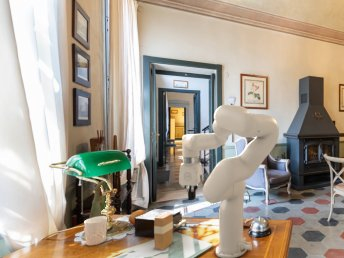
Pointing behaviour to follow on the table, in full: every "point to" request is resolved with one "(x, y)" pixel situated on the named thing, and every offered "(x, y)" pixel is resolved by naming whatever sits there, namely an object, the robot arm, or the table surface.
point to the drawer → (178, 221)
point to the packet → (163, 230)
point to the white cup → (95, 230)
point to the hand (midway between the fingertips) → (191, 199)
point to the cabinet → (149, 222)
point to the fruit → (134, 215)
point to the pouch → (98, 201)
